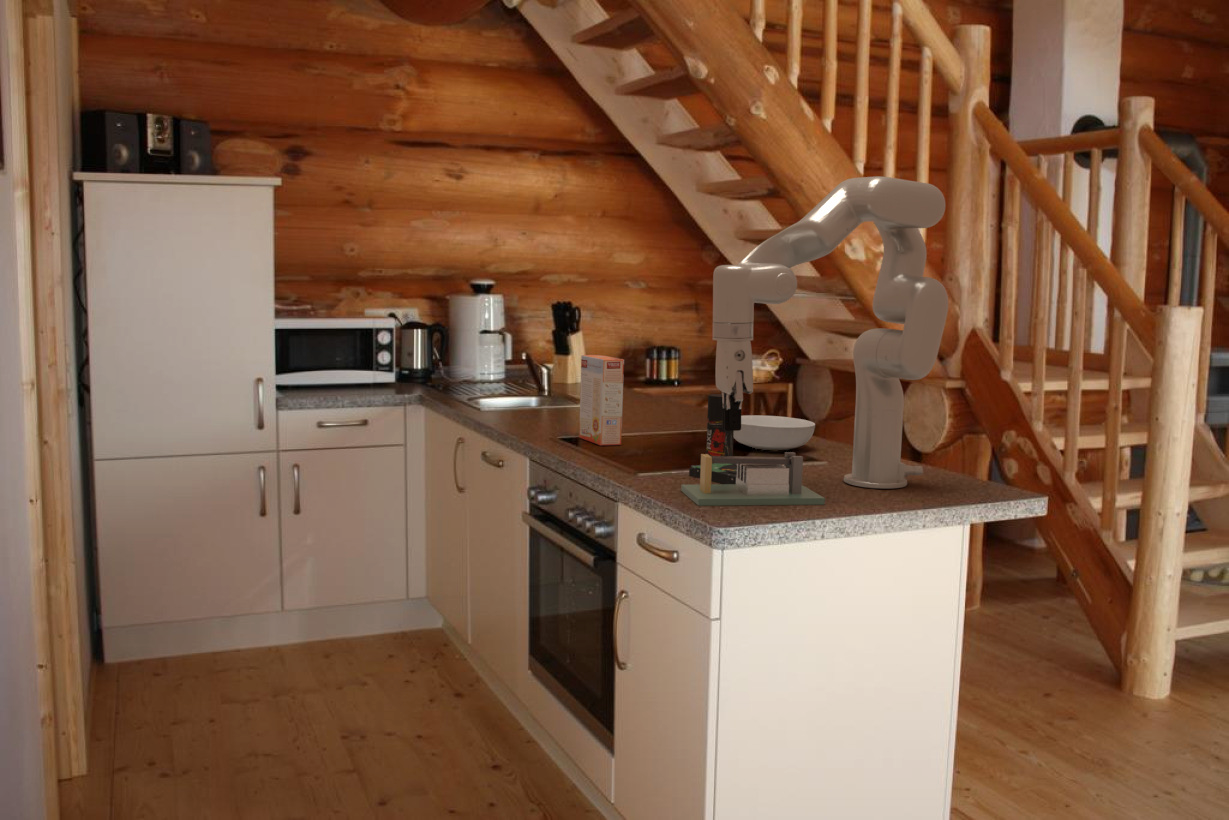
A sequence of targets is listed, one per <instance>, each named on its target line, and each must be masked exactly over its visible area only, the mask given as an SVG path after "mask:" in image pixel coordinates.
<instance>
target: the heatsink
mask: <svg viewBox="0 0 1229 820" xmlns="http://www.w3.org/2000/svg"><path fill="white" fill-rule="evenodd" d="M788 482H789V468H786V466H784V465H783V464H737V477H736V488H737V489H739V490H740V491H742V492H743V493H744V494H746V495H789V484H788Z"/></svg>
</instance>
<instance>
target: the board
mask: <svg viewBox="0 0 1229 820" xmlns="http://www.w3.org/2000/svg"><path fill="white" fill-rule="evenodd" d="M790 455H794V456H792V465H790V464H783V466H786V468H789V482H788V484H789V495H746V494H744V493H743V492H742V491H740V490H739V489H737V488H736V484H721V483H718V484H713V483H712V481H711V473H712V457H711V456H709V455H708V454H706V453H705V454H704V453H701V454H700V465H701V471H700V478H699V484H681V485H680V487H681V488H680V491H681V492H682V493H683V494H685V496H687V497H688V499H690V500H691V501H693V502H694V504H696V505H697V506H701V507H703V506H704V507H706V506H800V505H801V506H802V505H803V506H807V505H808V506H810V505H811V506H813V505H815V506H816V505H820V506H821V505H822V506H823V505H824V506H825V502H826V497H823V496H822V495H820V494H819V493H817V492H815V491H814V490H812V489H810V488H808V487H807V486H805V485H803V466H804V465H803V464H804V456H803V455H796V452H794V451H792V452H791V451H790V452H789V451H788V452H787V451H786V452H785V451H784V457H787V458H788V456H790Z"/></svg>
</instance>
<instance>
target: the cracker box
mask: <svg viewBox="0 0 1229 820" xmlns="http://www.w3.org/2000/svg"><path fill="white" fill-rule="evenodd" d="M580 356H581V359H580V360H581V361H580V362H581V363H580V365H581V366H580V394H579V395H580V399H579V425H578V426H579V428H578V429H579V431H578V432H579V433H578V438H580V439H582V440H585V441H588V442H590V443H593V444H596V445H598V446H601V447H604V446H605V447H606V446H608V447H609V446H621V445H622V429H623V428H622V427H623V426H622V425H623V402H624V401H623V399H624V375H625V374H624V372H625V359H623V358H618V357H613V356H609V355H602V354H583V355H580Z"/></svg>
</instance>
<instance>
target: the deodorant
mask: <svg viewBox="0 0 1229 820" xmlns="http://www.w3.org/2000/svg"><path fill="white" fill-rule="evenodd" d="M707 396H708V397H707V419H706V420H707V421H706V447H705V454H708V455H709V456H734V437H733V435H734V431H725V430H724V429H723V428H722V416H723V409H725V408H723V403H722V393H710V394H708V395H707Z"/></svg>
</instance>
